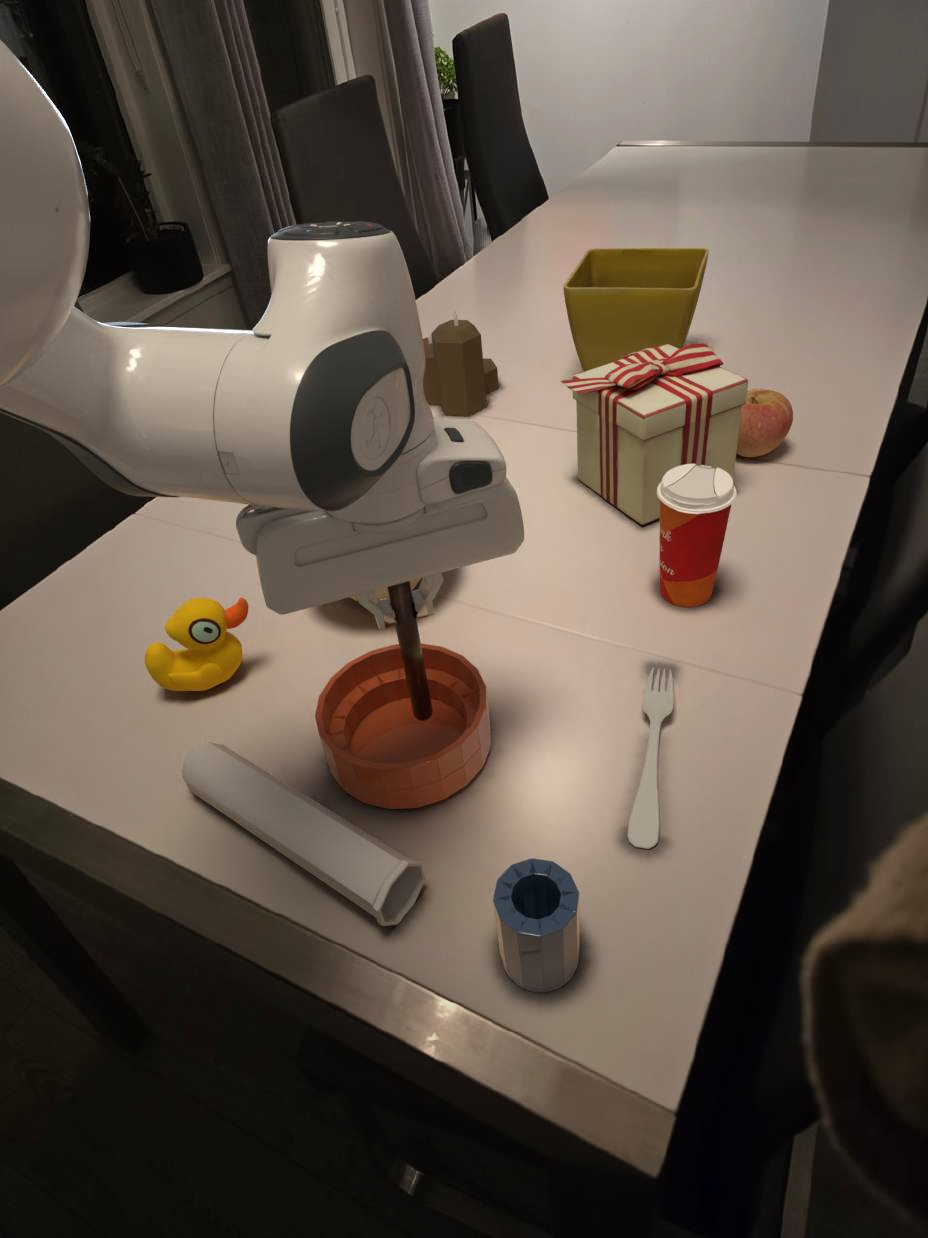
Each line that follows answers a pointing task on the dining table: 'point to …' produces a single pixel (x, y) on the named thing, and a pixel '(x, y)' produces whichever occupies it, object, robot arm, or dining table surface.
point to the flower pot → (632, 300)
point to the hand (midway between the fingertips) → (405, 617)
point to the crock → (537, 924)
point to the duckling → (198, 646)
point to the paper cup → (692, 531)
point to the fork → (650, 764)
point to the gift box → (654, 422)
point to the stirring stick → (411, 650)
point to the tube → (306, 832)
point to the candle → (457, 369)
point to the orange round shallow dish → (404, 728)
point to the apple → (763, 422)
